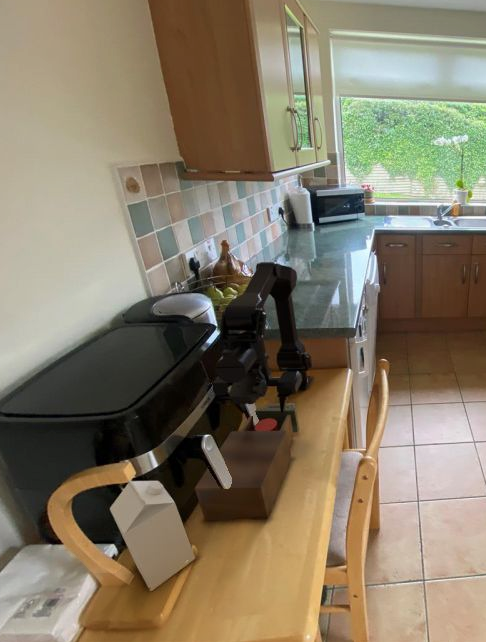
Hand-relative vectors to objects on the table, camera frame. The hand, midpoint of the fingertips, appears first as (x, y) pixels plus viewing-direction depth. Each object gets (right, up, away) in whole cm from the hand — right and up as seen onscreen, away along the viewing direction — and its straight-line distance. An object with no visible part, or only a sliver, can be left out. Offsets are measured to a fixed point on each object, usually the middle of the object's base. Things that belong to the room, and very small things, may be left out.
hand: (263, 412), depth 89 cm
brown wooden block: (0, -15, -6) cm, 16 cm away
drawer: (0, -9, +5) cm, 11 cm away
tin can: (0, -9, +4) cm, 9 cm away
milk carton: (-8, -22, -21) cm, 31 cm away
